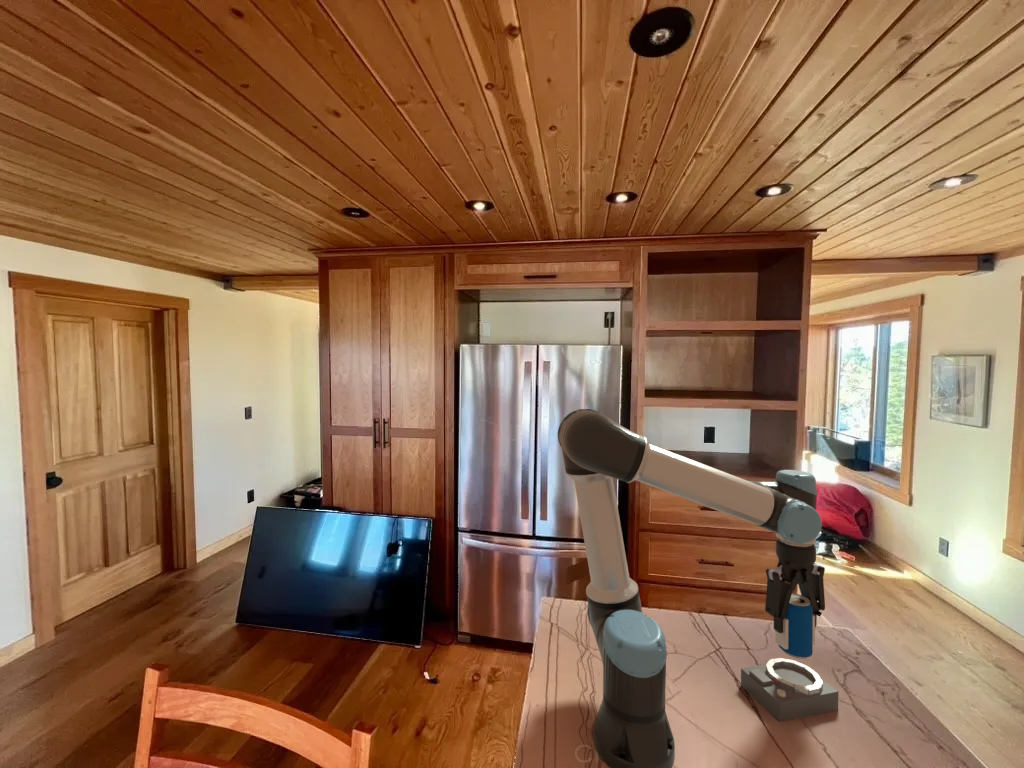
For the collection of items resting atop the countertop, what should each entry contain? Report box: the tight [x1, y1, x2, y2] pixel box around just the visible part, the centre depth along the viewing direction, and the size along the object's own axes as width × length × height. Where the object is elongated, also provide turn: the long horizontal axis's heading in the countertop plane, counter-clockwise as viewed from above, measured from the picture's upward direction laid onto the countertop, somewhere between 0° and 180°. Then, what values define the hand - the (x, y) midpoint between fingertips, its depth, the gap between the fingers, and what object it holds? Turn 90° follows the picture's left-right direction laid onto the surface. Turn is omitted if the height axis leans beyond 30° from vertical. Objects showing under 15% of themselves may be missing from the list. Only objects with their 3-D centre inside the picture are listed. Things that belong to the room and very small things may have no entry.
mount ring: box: [765, 657, 823, 696], centre depth 98 cm, size 10×10×1 cm
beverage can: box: [777, 592, 814, 660], centre depth 98 cm, size 6×6×12 cm
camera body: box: [740, 658, 839, 723], centre depth 98 cm, size 15×11×5 cm
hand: (795, 643), depth 98 cm, fingers closed on beverage can, 6 cm apart
